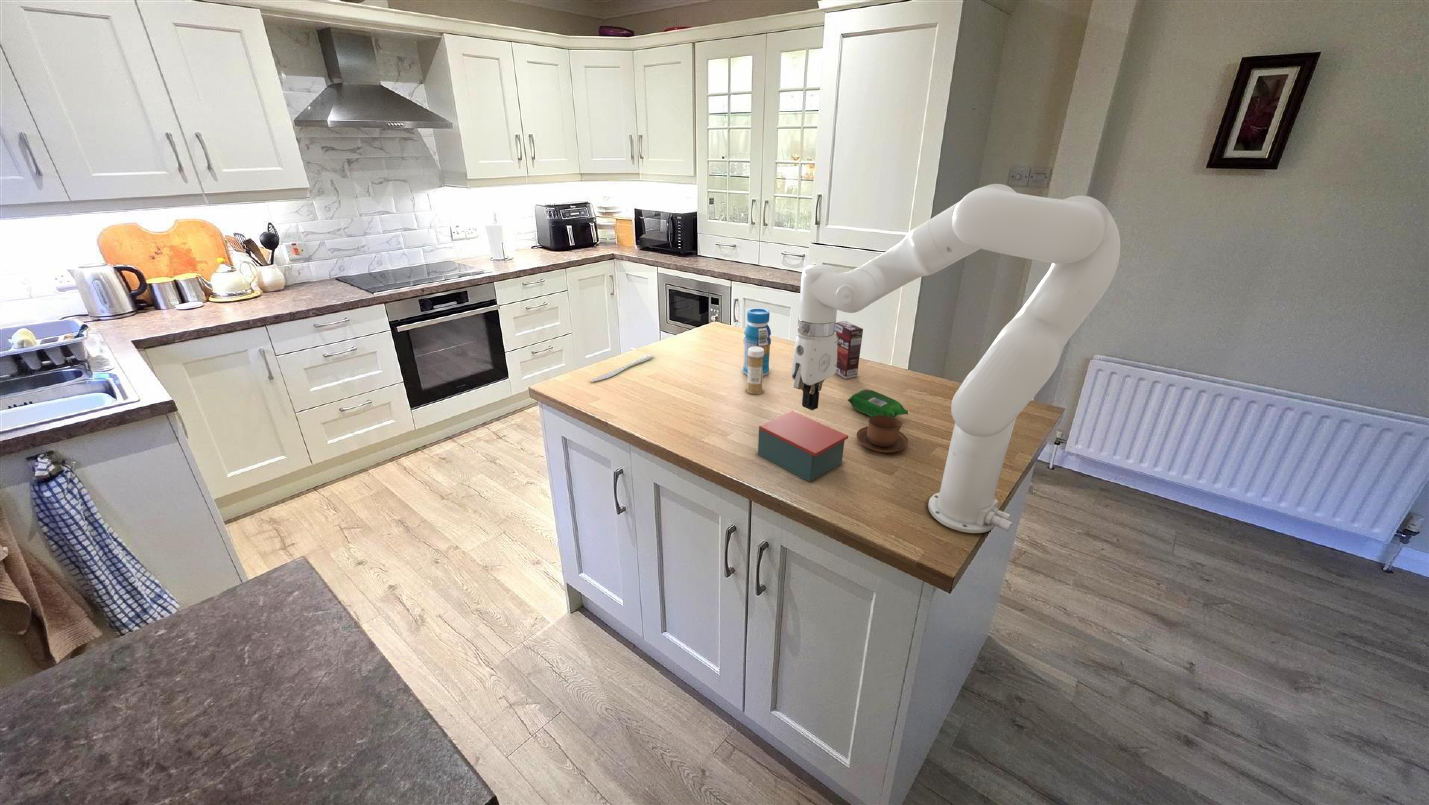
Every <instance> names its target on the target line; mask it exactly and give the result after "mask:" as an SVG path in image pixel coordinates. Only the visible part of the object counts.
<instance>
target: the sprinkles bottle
mask: <svg viewBox="0 0 1429 805" xmlns="http://www.w3.org/2000/svg"><path fill="white" fill-rule="evenodd" d="M763 356H764V349H763V348H762V347H757V346H754V347H750V348H749V349H748V375H747V389H746V392H747V393H748V394H750V395H760V394H762V392H763V382H764V380H763V378H764V376H763Z"/></svg>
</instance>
